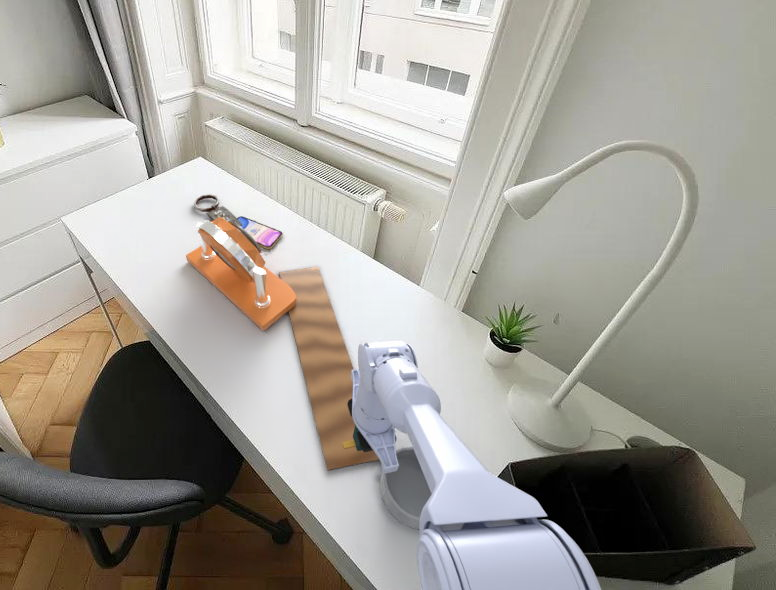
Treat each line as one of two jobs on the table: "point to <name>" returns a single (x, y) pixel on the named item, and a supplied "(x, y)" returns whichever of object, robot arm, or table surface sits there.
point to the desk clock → (240, 271)
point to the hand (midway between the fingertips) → (365, 439)
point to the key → (353, 441)
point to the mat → (324, 367)
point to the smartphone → (261, 232)
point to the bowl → (405, 489)
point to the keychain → (216, 210)
